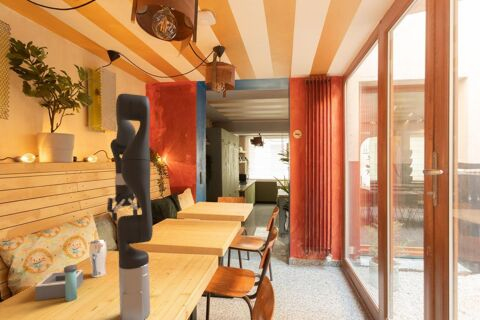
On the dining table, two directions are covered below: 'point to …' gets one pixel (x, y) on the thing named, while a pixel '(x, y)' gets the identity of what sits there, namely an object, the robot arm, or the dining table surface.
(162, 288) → the dining table surface
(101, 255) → the tumbler
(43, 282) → the socket block
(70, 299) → the plug
